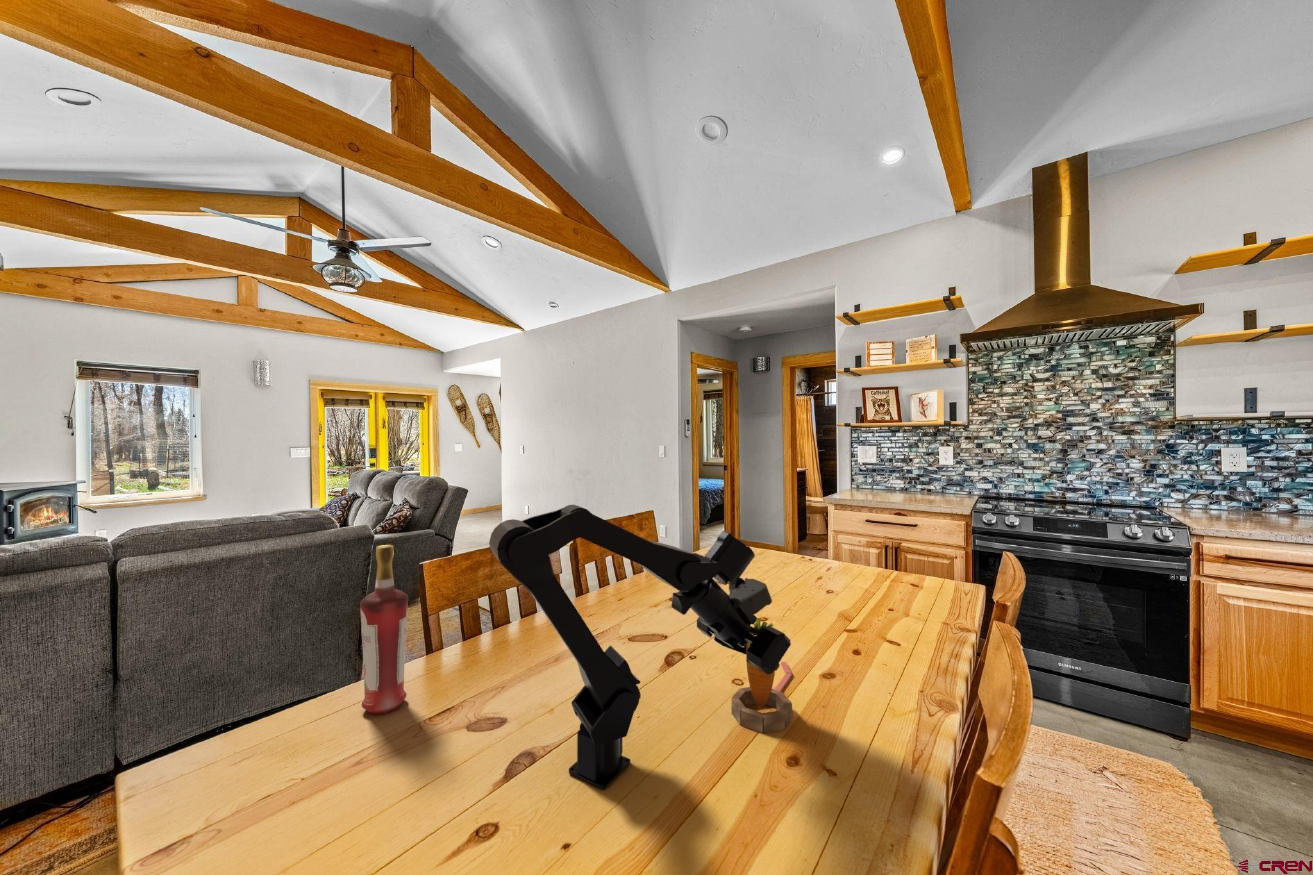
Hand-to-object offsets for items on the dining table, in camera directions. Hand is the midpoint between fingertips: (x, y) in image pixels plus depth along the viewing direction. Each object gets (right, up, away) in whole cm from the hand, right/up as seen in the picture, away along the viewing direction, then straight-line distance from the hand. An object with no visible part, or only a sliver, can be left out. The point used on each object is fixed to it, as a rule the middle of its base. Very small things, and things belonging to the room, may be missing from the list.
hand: (767, 661), depth 84 cm
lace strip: (+5, -9, +11) cm, 15 cm away
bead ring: (-1, -9, -1) cm, 9 cm away
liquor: (-66, -9, +2) cm, 67 cm away
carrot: (-1, -8, -1) cm, 8 cm away
